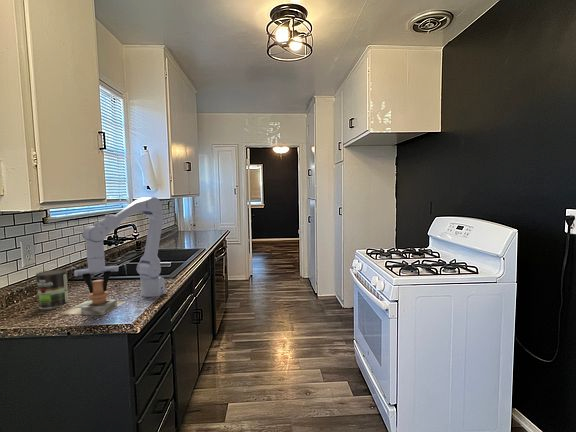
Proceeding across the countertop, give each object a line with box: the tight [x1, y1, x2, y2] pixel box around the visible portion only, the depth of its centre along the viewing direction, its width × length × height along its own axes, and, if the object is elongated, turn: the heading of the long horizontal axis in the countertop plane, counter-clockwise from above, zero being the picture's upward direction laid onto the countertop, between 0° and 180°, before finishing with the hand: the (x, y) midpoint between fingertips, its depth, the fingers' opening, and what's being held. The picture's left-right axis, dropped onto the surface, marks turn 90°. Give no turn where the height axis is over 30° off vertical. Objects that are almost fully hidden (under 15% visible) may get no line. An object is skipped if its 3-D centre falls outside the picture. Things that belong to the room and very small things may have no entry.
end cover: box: [87, 279, 110, 304], centre depth 124 cm, size 7×7×8 cm
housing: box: [59, 298, 126, 316], centre depth 127 cm, size 18×14×4 cm
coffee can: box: [35, 268, 69, 310], centre depth 134 cm, size 10×10×14 cm
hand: (98, 291), depth 124 cm, fingers closed on end cover, 4 cm apart
